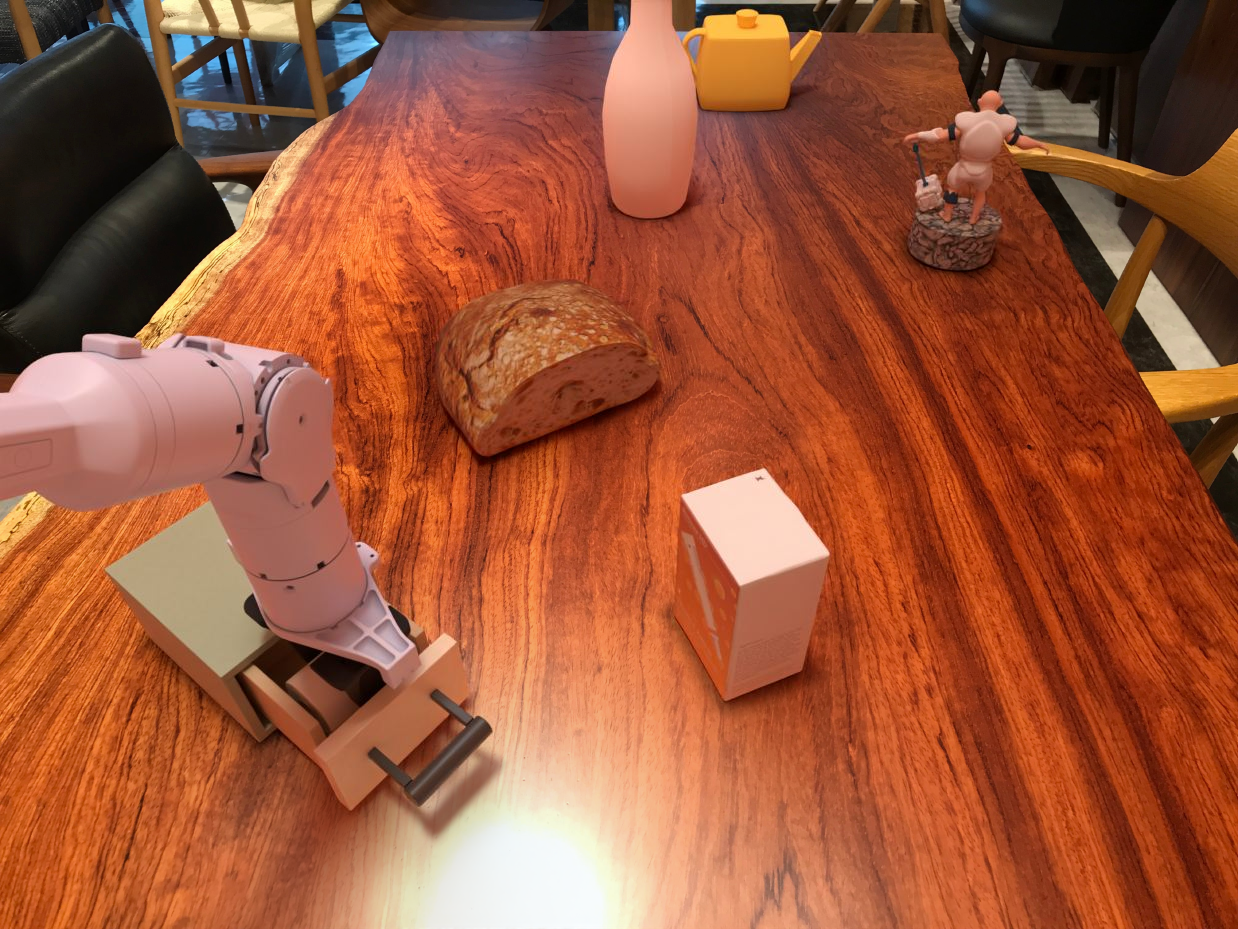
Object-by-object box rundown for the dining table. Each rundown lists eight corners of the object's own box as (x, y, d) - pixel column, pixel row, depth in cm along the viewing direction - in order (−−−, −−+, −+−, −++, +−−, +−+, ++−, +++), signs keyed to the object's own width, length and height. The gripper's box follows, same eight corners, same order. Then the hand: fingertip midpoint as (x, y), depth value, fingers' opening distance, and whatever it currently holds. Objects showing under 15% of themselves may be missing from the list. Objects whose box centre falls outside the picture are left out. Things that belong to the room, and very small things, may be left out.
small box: (671, 615, 65) (677, 492, 55) (747, 587, 66) (765, 464, 57) (723, 705, 59) (739, 586, 50) (804, 673, 61) (834, 552, 52)
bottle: (669, 232, 104) (677, -2, 86) (587, 211, 108) (578, -17, 90) (708, 192, 111) (722, -32, 93) (629, 173, 115) (629, -45, 97)
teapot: (807, 79, 137) (818, -4, 128) (819, 112, 128) (832, 25, 119) (678, 80, 137) (681, -2, 129) (681, 113, 128) (684, 27, 120)
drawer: (522, 734, 57) (512, 682, 53) (402, 860, 51) (381, 814, 47) (351, 602, 65) (331, 547, 60) (231, 699, 59) (199, 647, 55)
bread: (472, 471, 76) (455, 380, 69) (413, 355, 87) (394, 267, 80) (682, 403, 82) (687, 313, 75) (601, 303, 94) (598, 217, 87)
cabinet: (393, 629, 64) (370, 559, 59) (260, 743, 58) (220, 677, 52) (280, 543, 70) (250, 472, 65) (149, 637, 64) (103, 569, 58)
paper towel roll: (367, 627, 60) (410, 669, 59) (285, 696, 56) (330, 743, 55) (369, 602, 56) (415, 647, 55) (281, 674, 52) (329, 724, 52)
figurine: (1012, 238, 102) (1065, 79, 89) (1019, 278, 96) (1077, 114, 83) (882, 226, 104) (916, 69, 92) (882, 264, 98) (918, 103, 86)
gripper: (444, 557, 45) (477, 696, 55) (274, 440, 52) (330, 583, 61) (335, 649, 42) (391, 782, 51) (166, 510, 48) (243, 651, 58)
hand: (352, 678), depth 56 cm, fingers closed on paper towel roll, 4 cm apart
